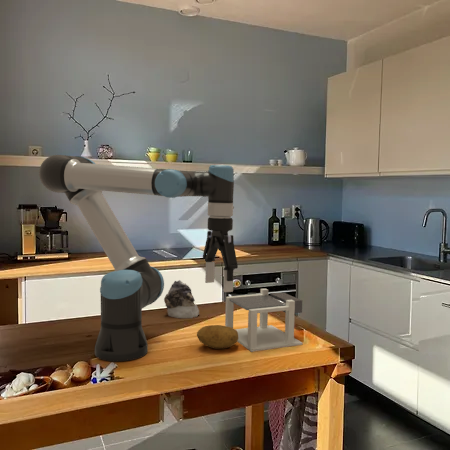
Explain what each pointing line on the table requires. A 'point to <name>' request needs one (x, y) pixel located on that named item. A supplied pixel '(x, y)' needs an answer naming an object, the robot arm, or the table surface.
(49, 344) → the table surface
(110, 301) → the robot arm
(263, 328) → the frame
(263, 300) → the flap
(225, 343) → the potato
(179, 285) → the stone
